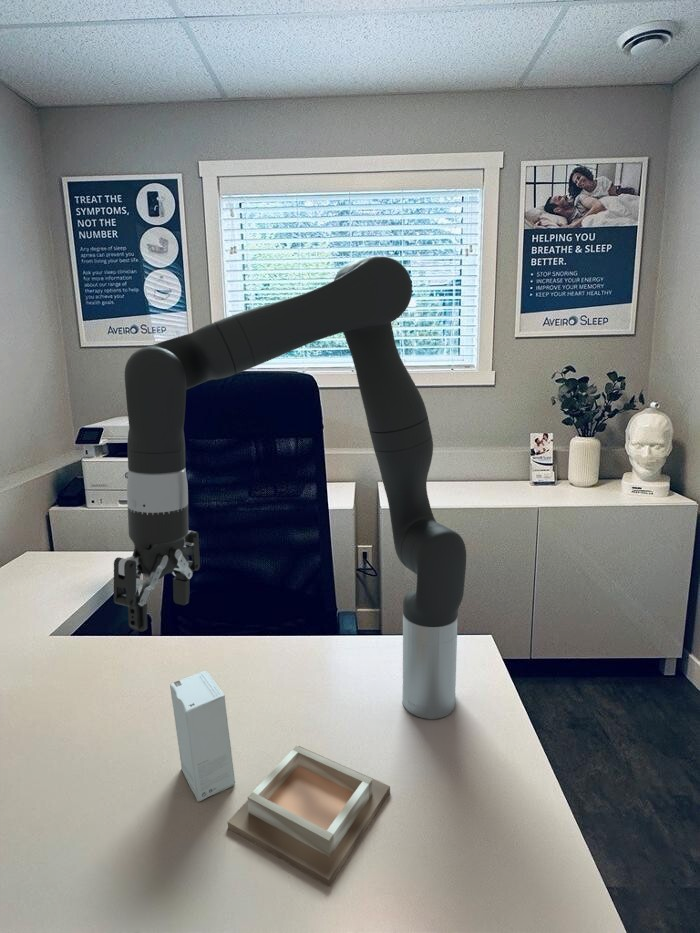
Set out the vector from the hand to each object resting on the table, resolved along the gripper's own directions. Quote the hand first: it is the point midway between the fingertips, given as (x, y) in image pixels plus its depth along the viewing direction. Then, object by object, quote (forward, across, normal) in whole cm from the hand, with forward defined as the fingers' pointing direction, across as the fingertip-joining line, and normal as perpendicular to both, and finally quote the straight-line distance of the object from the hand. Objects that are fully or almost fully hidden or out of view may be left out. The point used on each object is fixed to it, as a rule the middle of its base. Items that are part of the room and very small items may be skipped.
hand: (161, 615), depth 75 cm
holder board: (+25, +3, -22) cm, 34 cm away
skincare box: (+26, +3, -5) cm, 27 cm away
